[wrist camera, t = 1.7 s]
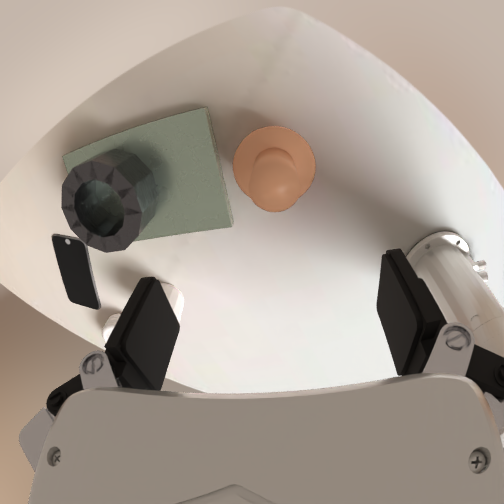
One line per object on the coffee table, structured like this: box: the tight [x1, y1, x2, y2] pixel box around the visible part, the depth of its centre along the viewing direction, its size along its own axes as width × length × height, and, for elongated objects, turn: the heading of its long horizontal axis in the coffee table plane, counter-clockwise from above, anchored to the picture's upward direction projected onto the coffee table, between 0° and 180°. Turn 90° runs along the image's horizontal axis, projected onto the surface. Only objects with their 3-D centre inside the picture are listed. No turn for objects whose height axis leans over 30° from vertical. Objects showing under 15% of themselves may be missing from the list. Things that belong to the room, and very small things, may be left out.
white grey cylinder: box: [161, 283, 184, 323], centre depth 39 cm, size 7×7×7 cm
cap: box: [233, 126, 316, 212], centre depth 26 cm, size 8×8×10 cm
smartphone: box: [52, 234, 101, 310], centre depth 42 cm, size 8×1×15 cm
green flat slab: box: [62, 107, 233, 253], centre depth 30 cm, size 20×14×6 cm
